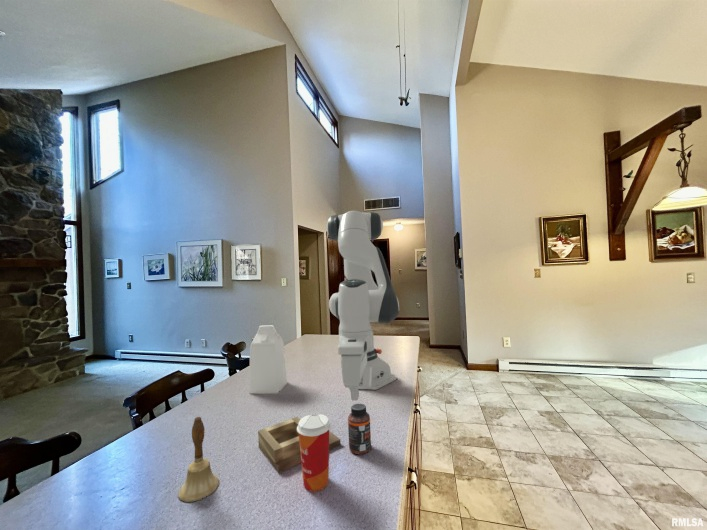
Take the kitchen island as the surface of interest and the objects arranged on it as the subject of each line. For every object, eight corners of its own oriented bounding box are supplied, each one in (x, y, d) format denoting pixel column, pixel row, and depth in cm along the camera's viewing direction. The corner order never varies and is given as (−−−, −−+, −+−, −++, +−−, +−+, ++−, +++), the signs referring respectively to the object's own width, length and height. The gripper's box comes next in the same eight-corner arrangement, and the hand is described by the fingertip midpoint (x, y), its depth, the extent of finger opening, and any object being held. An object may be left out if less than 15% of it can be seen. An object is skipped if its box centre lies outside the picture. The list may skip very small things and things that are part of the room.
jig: (315, 424, 94) (315, 410, 94) (340, 444, 83) (339, 428, 83) (258, 447, 84) (258, 430, 84) (278, 473, 72) (277, 454, 72)
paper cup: (300, 473, 72) (298, 414, 72) (332, 469, 73) (330, 411, 73) (297, 497, 64) (294, 431, 64) (333, 493, 65) (330, 428, 65)
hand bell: (225, 474, 73) (222, 408, 73) (209, 501, 64) (207, 426, 65) (190, 477, 72) (187, 410, 73) (170, 503, 64) (167, 428, 64)
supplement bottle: (369, 456, 77) (367, 412, 77) (346, 454, 78) (345, 411, 79) (372, 443, 83) (370, 402, 83) (351, 441, 84) (349, 401, 84)
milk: (287, 382, 132) (284, 322, 132) (277, 393, 120) (275, 328, 120) (260, 382, 133) (258, 323, 133) (249, 393, 121) (246, 328, 122)
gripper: (350, 332, 92) (352, 378, 91) (336, 349, 72) (338, 408, 71) (370, 332, 91) (372, 378, 90) (362, 349, 71) (365, 409, 70)
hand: (357, 392), depth 81 cm, fingers open, 8 cm apart
